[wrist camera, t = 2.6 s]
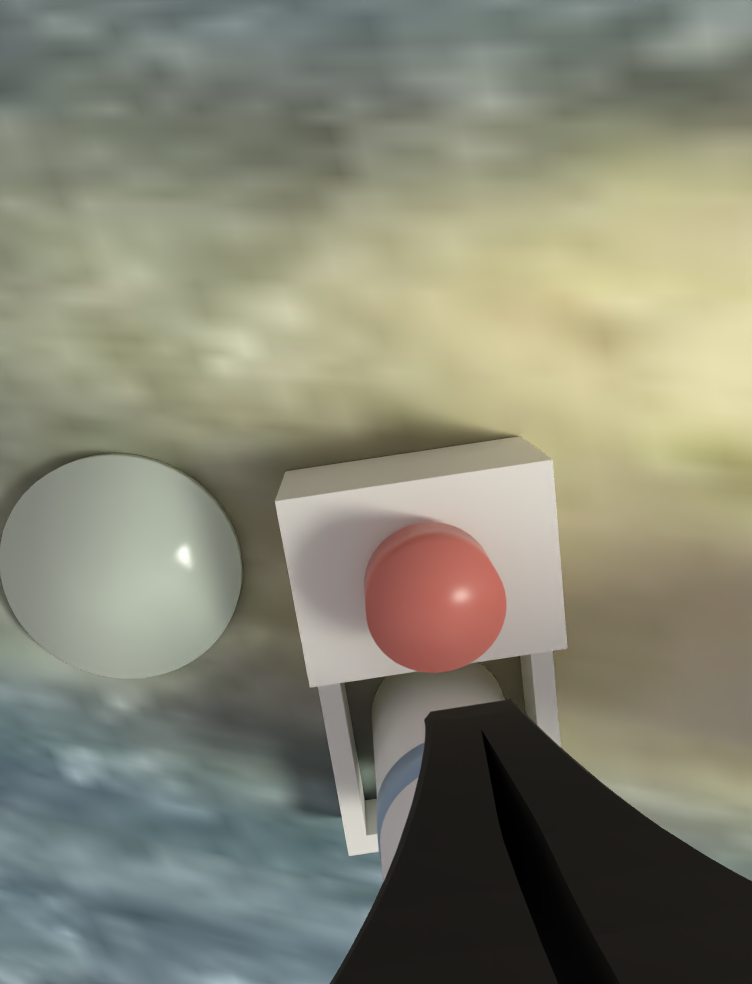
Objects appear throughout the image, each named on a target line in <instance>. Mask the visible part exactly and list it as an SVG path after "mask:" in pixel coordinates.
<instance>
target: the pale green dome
mask: <svg viewBox="0 0 752 984" xmlns="http://www.w3.org/2000/svg"><path fill="white" fill-rule="evenodd" d="M242 571H243V564H242V556H241V549H240V546H239V542H238V538H237V535H236V533H235V531H234V528H233V526H232V524H231V521H230V520H229V518H228V516H227V515H226V513H225V511H224V510H223V508H222V507H221V506H220V504H219V503H218V502H217V501H216V499H215V498H214V497H213V496H212V495H211V494H210V493H209V492H208V491H207V490H206V489H205V488H204V487H203V486H202V485H201V484H199V483H198V482H197V481H196V480H194V479H193V478H192V477H190V476H189V475H187V474H186V473H184V472H182V471H180V470H179V469H177V468H175V467H173V466H171V465H168V464H166V463H164V462H162V461H158V460H155V459H152V458H148V457H145V456H139V455H133V454H120V453H110V454H98V455H93V456H88V457H84V458H80V459H77V460H75V461H72V462H69V463H67V464H65V465H63V466H61V467H59V468H57V469H55V470H53V471H52V472H50V473H48V474H47V475H45V476H44V477H42V478H41V479H40V480H38V481H37V482H35V483H34V484H33V485H32V486H31V487H30V488H29V489H28V490H27V491H26V492H25V493H24V494H23V496H22V497H21V498H20V499H19V501H18V502H17V503H16V505H15V506H14V508H13V510H12V512H11V514H10V515H9V517H8V519H7V522H6V525H5V528H4V530H3V534H2V539H1V543H0V576H1V581H2V585H3V589H4V592H5V595H6V598H7V600H8V603H9V605H10V607H11V609H12V611H13V613H14V614H15V616H16V618H17V619H18V621H19V622H20V624H21V625H22V626H23V628H24V629H25V630H26V632H27V633H28V634H29V635H30V636H31V637H32V638H33V639H34V640H35V641H36V642H37V643H38V644H39V645H40V646H42V647H43V648H44V649H45V650H46V651H47V652H49V653H50V654H52V655H53V656H55V657H56V658H58V659H59V660H61V661H63V662H65V663H67V664H69V665H71V666H73V667H75V668H77V669H80V670H83V671H85V672H88V673H92V674H96V675H99V676H104V677H111V678H118V679H137V678H148V677H153V676H157V675H162V674H165V673H168V672H171V671H174V670H177V669H179V668H181V667H183V666H185V665H187V664H189V663H190V662H192V661H193V660H195V659H196V658H198V657H199V656H201V655H202V654H203V653H204V652H205V651H207V650H208V649H209V648H210V647H211V646H212V645H213V644H214V643H215V642H216V641H217V639H218V638H219V637H220V636H221V634H222V633H223V631H224V630H225V628H226V627H227V625H228V624H229V621H230V619H231V617H232V615H233V613H234V611H235V608H236V605H237V602H238V598H239V595H240V591H241V585H242Z"/></svg>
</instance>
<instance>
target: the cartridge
mask: <svg viewBox="0 0 752 984" xmlns="http://www.w3.org/2000/svg"><path fill="white" fill-rule="evenodd" d="M502 700H505V698H504V695H503V693H502V690H501V688H500V686H499V684H498V682H497V681H496V679H495V678H494V676H493V675H492V674H491V673H490V672H489V671H488V670H487V669H486V668H485V667H484V666H482V665H481V664H480V663H478V662H476V663H470V664H468V665H466V666H463V667H461V668H458V669H455V670H451V671H447V672H439V673H427V672H420V671H417V672H410V673H404V674H397V675H390V676H387V677H386V678H385V679H384V680H383V682H382V683H381V684H380V686H379V688H378V690H377V692H376V694H375V697H374V700H373V705H372V714H371V717H372V731H373V746H374V760H375V775H376V789H377V802H376V820H377V836H378V848H379V854H380V858H381V862H382V876H383V882H384V880H385V877H386V875H387V873H388V870H389V868H390V865H391V863H392V860H393V858H394V855H395V853H396V850H397V847H398V844H399V841H400V838H401V835H402V832H403V829H404V826H405V823H406V820H407V817H408V814H409V811H410V808H411V805H412V801H413V797H414V793H415V789H416V785H417V781H418V777H419V773H420V769H421V763H422V757H423V751H424V744H425V722H424V719H425V718H426V717H427V715H428V714H429V713H430V712H431V711H437V710H444V709H450V708H457V707H463V706H470V705H476V704H483V703H489V702H496V701H502Z"/></svg>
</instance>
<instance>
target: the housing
mask: <svg viewBox="0 0 752 984" xmlns="http://www.w3.org/2000/svg"><path fill="white" fill-rule="evenodd" d="M275 505H276V510H277V515H278V521H279V526H280V531H281V537H282V542H283V547H284V553H285V558H286V563H287V569H288V574H289V579H290V585H291V590H292V595H293V601H294V606H295V611H296V617H297V622H298V627H299V633H300V638H301V643H302V649H303V654H304V659H305V665H306V670H307V675H308V680H309V686H310V688H311V687H318V691H319V696H320V702H321V707H322V713H323V718H324V723H325V729H326V734H327V740H328V745H329V750H330V756H331V761H332V767H333V772H334V778H335V783H336V788H337V794H338V799H339V805H340V810H341V815H342V821H343V826H344V832H345V837H346V843H347V848H348V853H349V856H353V855H359V854H366V853H372V852H379V848H378V836H377V820H376V802H377V799H370V800H365V798H364V792H363V786H362V780H361V775H360V769H359V763H358V757H357V751H356V746H355V740H354V734H353V728H352V723H351V717H350V711H349V705H348V699H347V694H346V688H345V682H351V681H358V680H364V679H371V678H377V677H384V676H390V675H397V674H404V673H410V672H417V671H415V670H412V669H408V668H406V667H404V666H401V665H400V664H398V663H396V662H394V661H393V660H392V659H390V658H389V657H388V656H386V655H385V654H384V653H383V652H382V651H381V650H380V648H379V647H378V646H377V644H376V643H375V641H374V639H373V638H372V636H371V633H370V631H369V628H368V624H367V619H366V607H365V594H364V577H365V572H366V568H367V565H368V562H369V560H370V558H371V556H372V554H373V553H374V551H375V550H376V549H377V547H378V546H379V545H380V544H381V543H382V542H383V541H384V540H385V539H386V538H387V537H388V536H390V535H391V534H393V533H394V532H396V531H398V530H400V529H402V528H404V527H407V526H409V525H412V524H417V523H423V522H439V523H445V524H449V525H452V526H455V527H457V528H460V529H462V530H463V531H465V532H467V533H468V534H470V535H471V536H472V537H473V538H474V539H476V540H477V542H478V543H479V544H480V545H481V546H482V548H483V549H484V551H485V552H486V554H487V556H488V557H489V559H490V561H491V562H492V564H493V566H494V568H495V569H496V571H497V573H498V575H499V577H500V579H501V581H502V583H503V586H504V589H505V594H506V616H505V620H504V624H503V626H502V629H501V631H500V633H499V635H498V637H497V639H496V640H495V642H494V643H493V644H492V646H491V647H490V648H489V649H488V650H487V651H486V652H485V653H484V654H483V655H481V656H480V657H479V658H478V659H476V660H475V661H473V662H471V663H476V662H483V661H489V660H496V659H503V658H509V657H516V656H520V660H521V670H522V680H523V690H524V700H525V710H526V714H527V715H528V716H529V717H530V718H531V719H532V720H533V721H534V722H535V723H536V724H537V725H538V726H539V727H540V728H541V729H542V730H543V731H544V732H545V733H546V734H547V735H548V736H549V737H550V738H551V739H552V740H553V741H554V742H556V743H557V744H558V745H559V746H560V747H561V742H560V730H559V718H558V706H557V695H556V683H555V671H554V660H553V651H555V650H562V649H568V647H567V635H566V622H565V610H564V597H563V584H562V572H561V559H560V547H559V534H558V521H557V509H556V496H555V484H554V471H553V460H552V459H551V458H550V457H548V456H547V455H546V454H544V453H543V452H542V451H540V450H539V449H537V448H536V447H535V446H533V445H532V444H531V443H529V442H528V441H527V440H525V439H524V438H522V437H521V436H518V437H512V438H505V439H498V440H492V441H485V442H478V443H472V444H465V445H458V446H452V447H445V448H438V449H432V450H425V451H418V452H412V453H405V454H398V455H391V456H385V457H378V458H371V459H365V460H358V461H351V462H345V463H338V464H331V465H325V466H318V467H311V468H305V469H298V470H291V471H285V474H284V477H283V480H282V482H281V485H280V488H279V491H278V494H277V497H276V499H275Z"/></svg>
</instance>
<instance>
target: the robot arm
mask: <svg viewBox="0 0 752 984" xmlns="http://www.w3.org/2000/svg"><path fill="white" fill-rule="evenodd" d="M424 722H425V744H424V751H423V757H422V763H421V769H420V773H419V777H418V781H417V785H416V789H415V793H414V797H413V801H412V805H411V808H410V811H409V814H408V817H407V820H406V823H405V826H404V829H403V832H402V835H401V838H400V841H399V844H398V847H397V850H396V853H395V855H394V858H393V860H392V863H391V865H390V868H389V870H388V873H387V875H386V877H385V880H384V882H383V884H382V886H381V889H380V891H379V893H378V895H377V897H376V900H375V902H374V904H373V906H372V908H371V910H370V912H369V914H368V916H367V918H366V920H365V922H364V924H363V926H362V927H361V929H360V931H359V933H358V935H357V937H356V939H355V941H354V943H353V945H352V947H351V949H350V950H349V952H348V954H347V956H346V957H345V959H344V961H343V963H342V964H341V966H340V968H339V969H338V971H337V973H336V975H335V976H334V978H333V979H332V981H331V982H330V984H752V881H750V880H748V879H746V878H744V877H743V876H741V875H739V874H737V873H735V872H733V871H732V870H730V869H728V868H726V867H725V866H723V865H721V864H719V863H718V862H716V861H714V860H712V859H711V858H709V857H707V856H706V855H704V854H702V853H701V852H699V851H698V850H696V849H694V848H693V847H691V846H690V845H688V844H687V843H685V842H683V841H682V840H680V839H679V838H677V837H675V836H674V835H672V834H671V833H669V832H668V831H666V830H664V829H663V828H661V827H660V826H658V825H657V824H656V823H654V822H653V821H651V820H650V819H649V818H647V817H646V816H644V815H643V814H642V813H640V812H639V811H638V810H636V809H635V808H634V807H632V806H631V805H630V804H628V803H627V802H626V801H624V800H623V799H622V798H620V797H619V796H618V795H616V794H615V793H614V792H613V791H611V790H610V789H609V788H608V787H606V786H605V785H604V784H603V783H601V782H600V781H599V780H598V779H597V778H596V777H594V776H593V775H592V774H591V773H590V772H588V771H587V770H586V769H585V768H584V767H583V766H581V765H580V764H579V763H578V762H577V761H576V760H574V759H573V758H572V757H571V756H570V755H569V754H568V753H566V752H565V751H564V750H563V749H562V748H561V747H560V746H559V745H558V744H557V743H556V742H554V741H553V740H552V739H551V738H550V737H549V736H548V735H547V734H546V733H545V732H544V731H543V730H542V729H541V728H540V727H539V726H538V725H537V724H536V723H535V722H534V721H533V720H532V719H531V718H530V717H529V716H528V715H527V714H526V713H525V712H524V711H523V710H522V709H521V708H520V707H519V706H518V705H517V704H515V703H514V702H513V701H511V700H510V699H509V700H502V701H496V702H489V703H483V704H476V705H470V706H463V707H457V708H450V709H444V710H437V711H431V712H430V713H429V714H428V715H427V717H426V718H425V719H424Z"/></svg>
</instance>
